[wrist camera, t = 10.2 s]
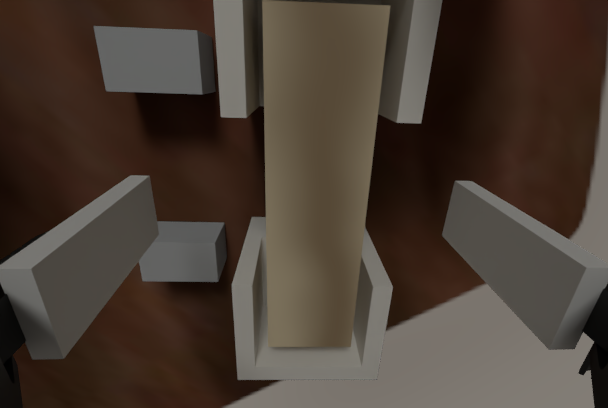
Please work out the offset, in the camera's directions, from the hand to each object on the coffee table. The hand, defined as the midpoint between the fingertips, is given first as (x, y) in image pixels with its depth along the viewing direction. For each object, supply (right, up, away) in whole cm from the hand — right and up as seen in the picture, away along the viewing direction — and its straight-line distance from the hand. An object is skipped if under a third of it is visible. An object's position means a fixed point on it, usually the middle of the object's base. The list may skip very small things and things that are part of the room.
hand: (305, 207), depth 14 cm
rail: (0, +2, +5) cm, 5 cm away
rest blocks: (-8, +3, +7) cm, 11 cm away
